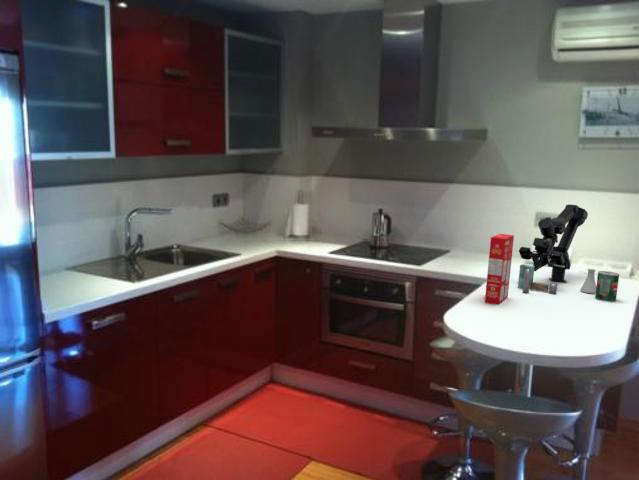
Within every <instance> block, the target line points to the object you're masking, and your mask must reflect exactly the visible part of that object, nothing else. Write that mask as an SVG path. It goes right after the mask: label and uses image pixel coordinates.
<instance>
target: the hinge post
mask: <svg viewBox="0 0 639 480" xmlns="http://www.w3.org/2000/svg"><path fill="white" fill-rule="evenodd" d="M557 293H558V284H557V283H549V289H548V294H550V295H557Z"/></svg>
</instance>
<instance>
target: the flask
mask: <svg viewBox="0 0 639 480" xmlns="http://www.w3.org/2000/svg"><path fill="white" fill-rule="evenodd" d="M595 274H596V269H593V268H587V274H586V278H585V281H584V282H583V284H582V286H581V288H580V289H579V290H580V292H581V293H585V294H591V295H595V293H596V285H597V282H596V279H595Z"/></svg>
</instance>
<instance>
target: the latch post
mask: <svg viewBox="0 0 639 480" xmlns="http://www.w3.org/2000/svg"><path fill="white" fill-rule="evenodd" d="M530 276H531V269H525V274H524V284H523V288H522V294H524V295H525V294H526V295H527V294H530V292H529V291H530V290H529V286H530Z"/></svg>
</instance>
